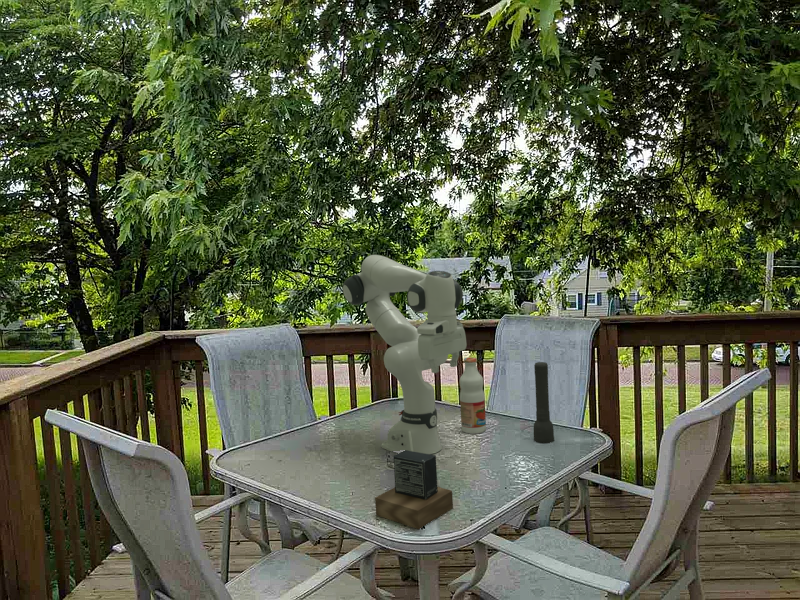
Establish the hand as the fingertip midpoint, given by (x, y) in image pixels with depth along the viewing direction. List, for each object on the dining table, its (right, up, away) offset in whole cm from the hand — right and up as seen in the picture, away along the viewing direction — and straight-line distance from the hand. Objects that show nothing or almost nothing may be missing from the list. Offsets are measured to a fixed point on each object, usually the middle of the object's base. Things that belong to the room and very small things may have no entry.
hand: (444, 369), depth 189 cm
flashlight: (+38, -29, +33) cm, 58 cm away
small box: (-9, -32, -19) cm, 38 cm away
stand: (-10, -37, -19) cm, 43 cm away
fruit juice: (+15, -29, +49) cm, 59 cm away
